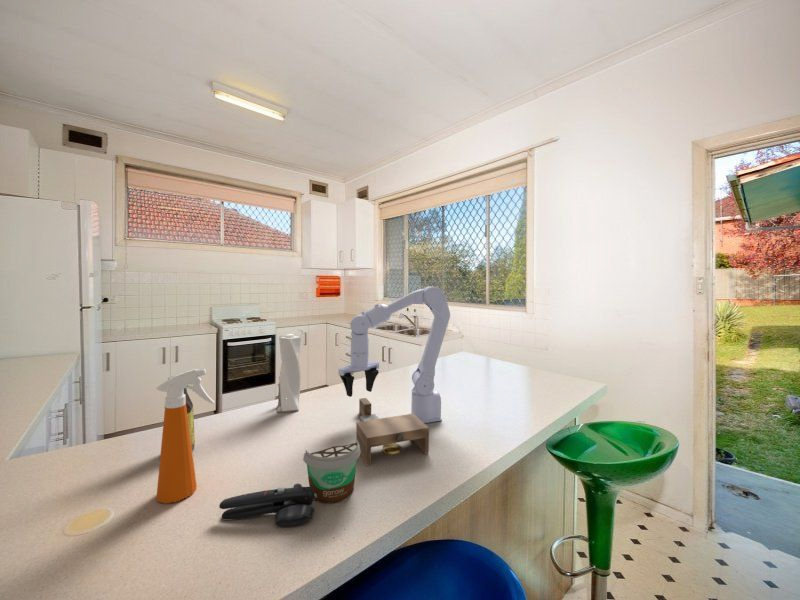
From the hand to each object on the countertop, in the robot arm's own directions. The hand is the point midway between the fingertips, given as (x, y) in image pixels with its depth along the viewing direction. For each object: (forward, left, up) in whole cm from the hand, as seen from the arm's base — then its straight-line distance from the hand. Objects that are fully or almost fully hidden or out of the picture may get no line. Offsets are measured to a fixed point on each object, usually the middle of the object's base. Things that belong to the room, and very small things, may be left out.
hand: (359, 393), depth 109 cm
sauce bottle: (+49, +4, -9) cm, 50 cm away
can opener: (+29, +38, -9) cm, 48 cm away
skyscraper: (+20, -17, -9) cm, 28 cm away
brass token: (-3, +23, -9) cm, 24 cm away
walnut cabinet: (-3, +23, -9) cm, 24 cm away
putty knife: (-3, +6, -9) cm, 11 cm away
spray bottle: (+44, +24, -9) cm, 51 cm away
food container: (+15, +37, -9) cm, 41 cm away
